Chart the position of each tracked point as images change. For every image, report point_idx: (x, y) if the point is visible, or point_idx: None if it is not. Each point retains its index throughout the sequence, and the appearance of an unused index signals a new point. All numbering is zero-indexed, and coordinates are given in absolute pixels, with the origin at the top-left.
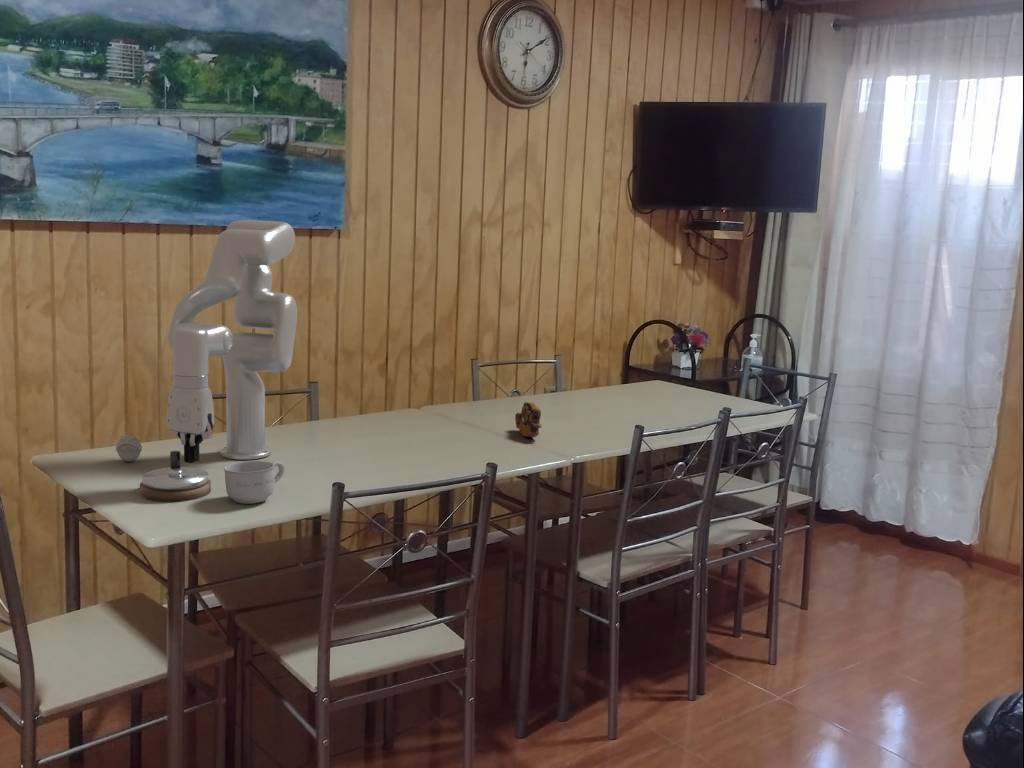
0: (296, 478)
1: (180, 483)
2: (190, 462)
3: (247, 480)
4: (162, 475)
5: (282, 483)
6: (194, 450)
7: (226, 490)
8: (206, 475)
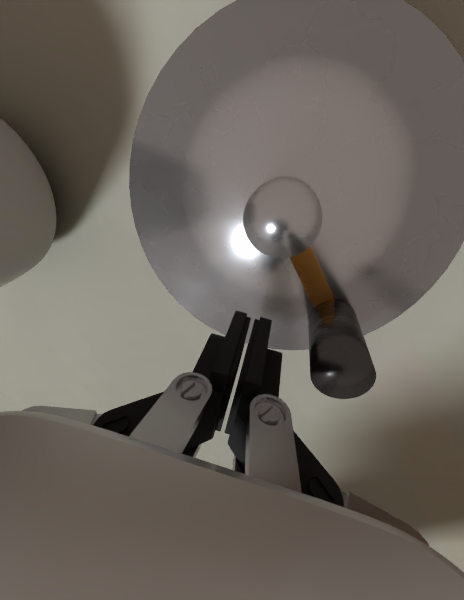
0: (59, 396)
1: (176, 58)
2: (235, 313)
3: None
4: (352, 189)
5: (56, 358)
6: (198, 361)
7: (8, 135)
8: (151, 255)
